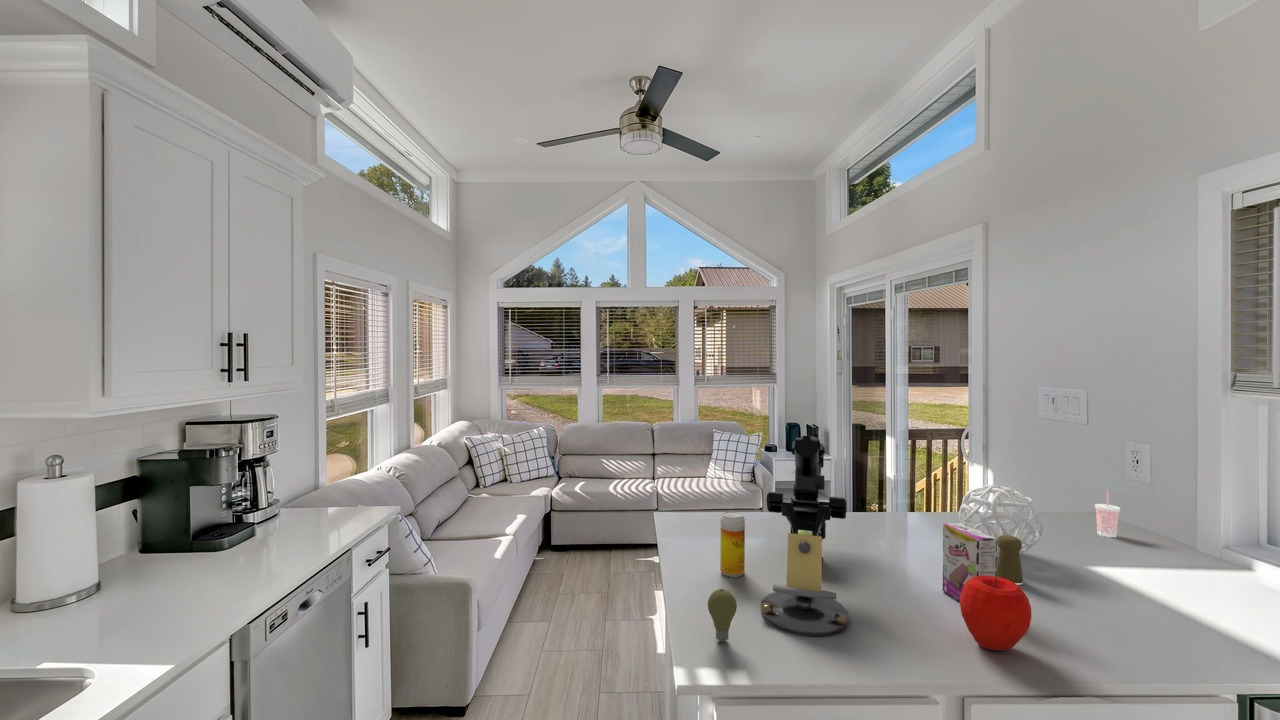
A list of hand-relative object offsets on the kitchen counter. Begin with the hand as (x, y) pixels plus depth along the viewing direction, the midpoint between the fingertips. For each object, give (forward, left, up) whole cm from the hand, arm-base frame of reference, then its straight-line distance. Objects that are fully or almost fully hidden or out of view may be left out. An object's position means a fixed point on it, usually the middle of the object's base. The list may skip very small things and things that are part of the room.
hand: (804, 536), depth 132 cm
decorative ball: (-64, +13, -13) cm, 66 cm away
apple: (-11, +37, -13) cm, 41 cm away
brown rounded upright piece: (-48, +23, -13) cm, 54 cm away
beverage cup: (-112, +22, -13) cm, 115 cm away
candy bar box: (-27, +24, -13) cm, 38 cm away
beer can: (+8, -16, -13) cm, 22 cm away
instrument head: (+10, +9, -9) cm, 16 cm away
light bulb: (+32, +8, -13) cm, 36 cm away
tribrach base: (+10, +9, -13) cm, 19 cm away
